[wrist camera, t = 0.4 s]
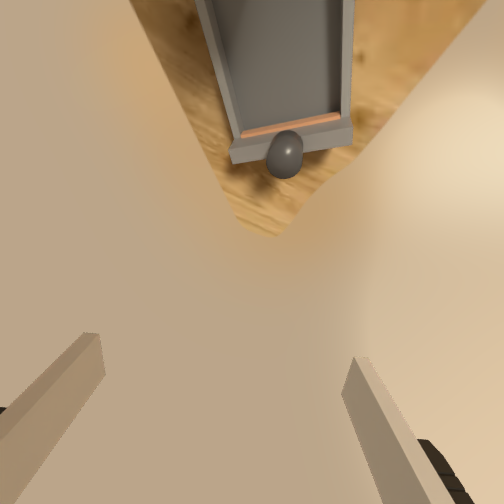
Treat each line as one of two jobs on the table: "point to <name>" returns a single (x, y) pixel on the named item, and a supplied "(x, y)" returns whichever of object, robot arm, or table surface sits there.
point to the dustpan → (282, 76)
